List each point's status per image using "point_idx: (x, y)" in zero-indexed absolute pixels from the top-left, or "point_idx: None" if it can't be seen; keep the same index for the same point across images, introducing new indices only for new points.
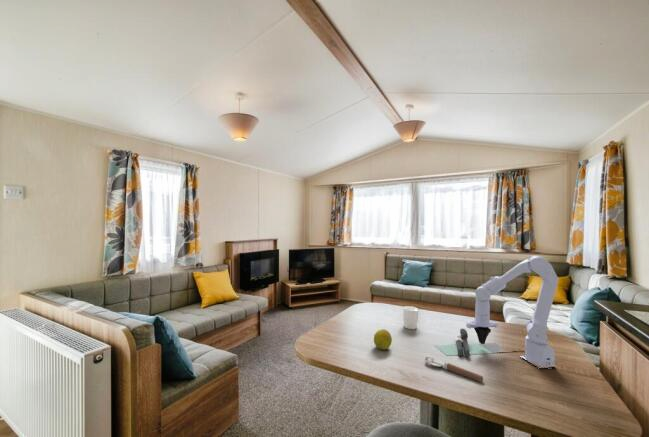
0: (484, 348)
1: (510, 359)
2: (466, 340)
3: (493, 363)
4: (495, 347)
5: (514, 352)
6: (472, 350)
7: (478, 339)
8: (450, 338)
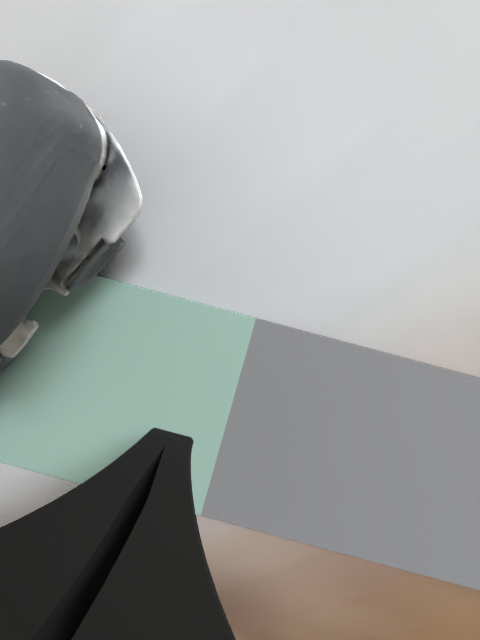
0: (216, 429)
1: (254, 625)
2: (55, 289)
3: None
4: (368, 460)
5: (445, 582)
6: (39, 410)
7: (136, 444)
8: (7, 23)
